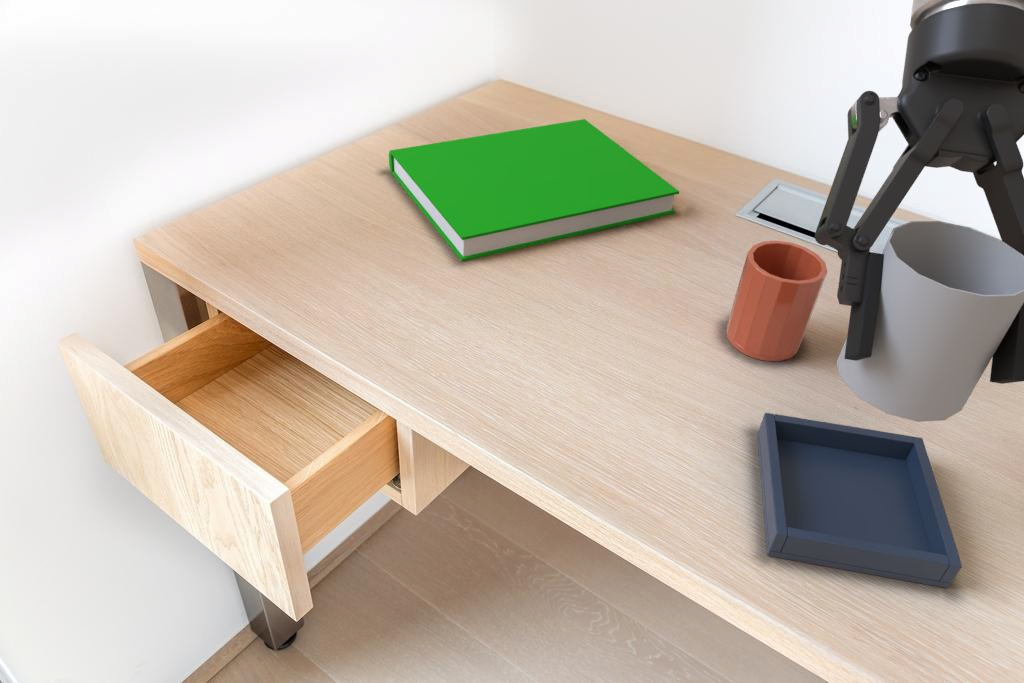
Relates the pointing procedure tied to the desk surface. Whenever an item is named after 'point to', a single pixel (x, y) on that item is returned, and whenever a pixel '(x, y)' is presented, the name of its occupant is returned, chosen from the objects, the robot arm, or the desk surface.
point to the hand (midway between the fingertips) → (931, 369)
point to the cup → (936, 319)
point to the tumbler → (775, 300)
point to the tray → (853, 501)
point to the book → (528, 187)
